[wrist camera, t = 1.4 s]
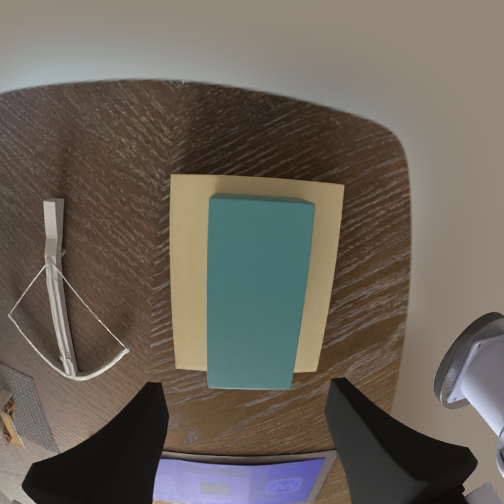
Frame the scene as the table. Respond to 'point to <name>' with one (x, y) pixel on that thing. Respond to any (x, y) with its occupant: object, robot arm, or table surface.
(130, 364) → the table surface
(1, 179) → the table surface
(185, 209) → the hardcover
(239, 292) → the teal rectangular block
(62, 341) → the crossbow
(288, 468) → the booklet
